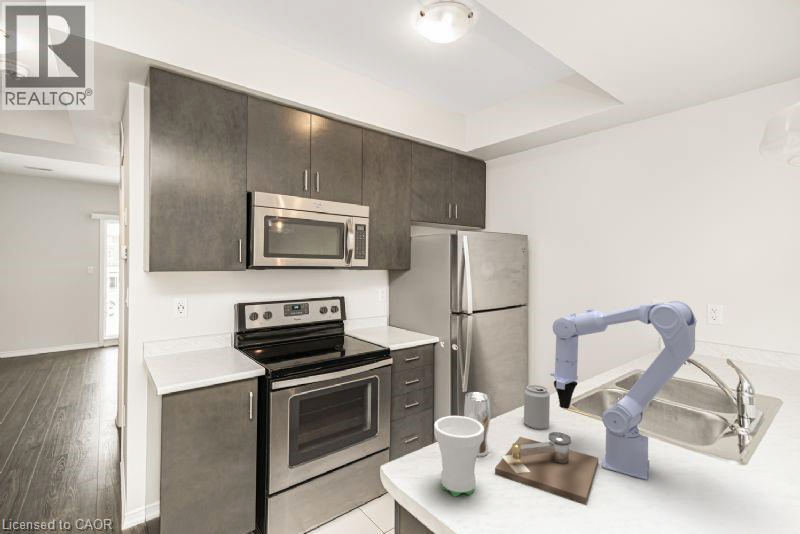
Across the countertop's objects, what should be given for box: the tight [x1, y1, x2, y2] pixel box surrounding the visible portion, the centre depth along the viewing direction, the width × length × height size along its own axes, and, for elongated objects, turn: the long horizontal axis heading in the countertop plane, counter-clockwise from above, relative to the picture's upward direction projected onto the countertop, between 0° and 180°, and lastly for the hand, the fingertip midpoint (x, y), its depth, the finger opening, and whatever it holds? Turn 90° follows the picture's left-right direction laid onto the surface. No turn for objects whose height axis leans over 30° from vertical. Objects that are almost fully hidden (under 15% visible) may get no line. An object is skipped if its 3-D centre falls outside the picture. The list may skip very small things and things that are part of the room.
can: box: [523, 384, 551, 430], centre depth 119 cm, size 8×8×12 cm
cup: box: [433, 415, 484, 497], centre depth 86 cm, size 11×11×14 cm
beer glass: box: [463, 391, 492, 458], centre depth 103 cm, size 7×7×15 cm
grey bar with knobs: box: [511, 431, 572, 463], centre depth 95 cm, size 16×5×6 cm, turn 103°
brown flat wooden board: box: [494, 436, 599, 506], centre depth 95 cm, size 21×20×2 cm
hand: (564, 407), depth 107 cm, fingers closed
